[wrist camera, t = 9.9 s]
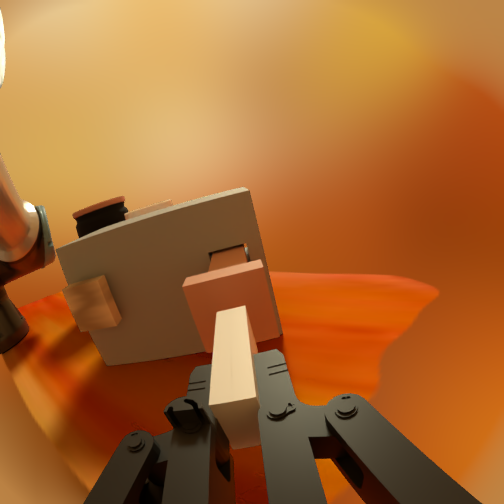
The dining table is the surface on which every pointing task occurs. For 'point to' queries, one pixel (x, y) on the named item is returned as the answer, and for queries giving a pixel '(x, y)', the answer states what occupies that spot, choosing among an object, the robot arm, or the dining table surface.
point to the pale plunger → (92, 304)
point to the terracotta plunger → (231, 294)
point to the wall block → (161, 271)
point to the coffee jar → (100, 215)
